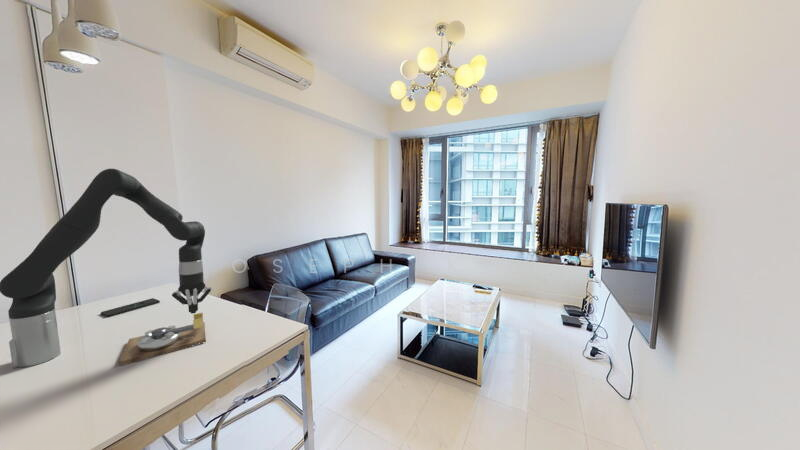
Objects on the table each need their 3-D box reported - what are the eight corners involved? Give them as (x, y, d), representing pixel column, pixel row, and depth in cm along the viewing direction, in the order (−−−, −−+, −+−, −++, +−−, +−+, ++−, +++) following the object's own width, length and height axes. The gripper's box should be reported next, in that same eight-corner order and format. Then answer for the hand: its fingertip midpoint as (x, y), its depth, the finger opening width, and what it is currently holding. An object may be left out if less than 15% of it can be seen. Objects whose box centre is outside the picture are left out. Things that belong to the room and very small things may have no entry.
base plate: (119, 365, 89) (118, 361, 88) (129, 342, 103) (129, 338, 102) (205, 342, 104) (205, 338, 103) (204, 324, 118) (204, 321, 117)
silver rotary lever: (141, 340, 101) (140, 322, 100) (203, 325, 113) (202, 310, 112) (135, 355, 92) (133, 336, 91) (203, 338, 104) (202, 321, 103)
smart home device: (160, 300, 140) (107, 315, 122) (160, 303, 141) (107, 318, 123) (152, 297, 144) (100, 311, 126) (152, 300, 144) (100, 315, 126)
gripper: (212, 267, 109) (214, 306, 111) (172, 270, 103) (174, 312, 104) (210, 271, 103) (212, 313, 105) (166, 275, 96) (169, 319, 98)
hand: (193, 312), depth 104 cm, fingers closed
